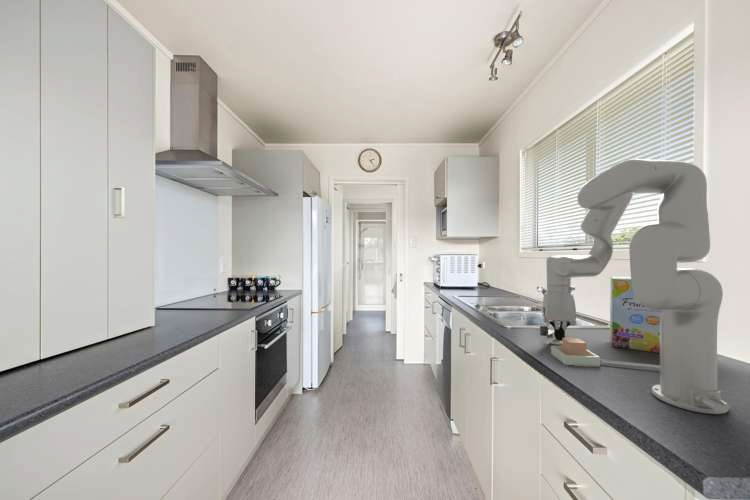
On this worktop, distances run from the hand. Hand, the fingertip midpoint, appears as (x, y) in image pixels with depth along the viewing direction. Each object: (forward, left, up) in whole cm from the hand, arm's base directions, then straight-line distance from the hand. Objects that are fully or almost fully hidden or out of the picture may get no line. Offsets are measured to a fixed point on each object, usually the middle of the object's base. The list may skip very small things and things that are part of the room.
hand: (559, 339), depth 110 cm
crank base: (+7, -1, -3) cm, 8 cm away
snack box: (+3, -31, -4) cm, 31 cm away
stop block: (-12, +1, -3) cm, 12 cm away
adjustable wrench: (-16, -17, -4) cm, 24 cm away
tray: (-12, +1, -3) cm, 12 cm away
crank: (+3, +2, -2) cm, 4 cm away
